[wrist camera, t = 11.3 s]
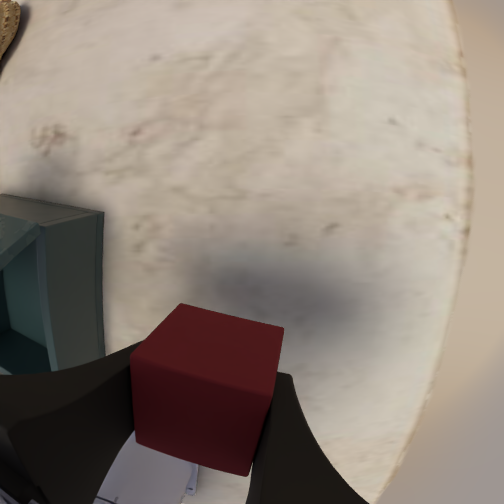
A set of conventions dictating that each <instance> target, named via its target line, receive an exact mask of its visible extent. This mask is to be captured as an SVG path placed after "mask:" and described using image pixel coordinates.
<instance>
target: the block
mask: <svg viewBox="0 0 504 504" xmlns="http://www.w3.org/2000/svg"><path fill="white" fill-rule="evenodd" d="M283 335H284V328H283V327H279V326H275V325H270V324H265V323H261V322H256V321H252V320H248V319H243V318H239V317H235V316H231V315H226V314H222V313H218V312H214V311H210V310H206V309H202V308H198V307H194V306H190V305H187V304H183V303H180V304H179V305H178V306H177V307H176V308H175V309H174V310H173V311H172V312H171V313H170V314H169V315H168V316H167V317H166V318H165V319H164V320H163V321H162V322H161V323H160V324H159V325H158V326H157V328H156V329H155V330H154V331H153V332H152V333H151V334H150V335H149V336H148V337H147V338H146V339H145V340H144V341H143V342H142V343H141V344H140V345H139V346H138V347H137V348H136V349H135V350H134V351H133V352H132V353H131V355H130V373H131V392H132V407H133V419H134V430H135V439H136V443H138V444H140V445H142V446H145V447H148V448H150V449H153V450H156V451H158V452H161V453H164V454H167V455H170V456H172V457H175V458H178V459H182V460H185V461H188V462H191V463H194V464H198V465H201V466H205V467H208V468H212V469H215V470H219V471H223V472H227V473H231V474H235V475H240V476H244V477H247V476H248V475H249V472H250V469H251V466H252V463H253V460H254V457H255V453H256V450H257V447H258V444H259V440H260V437H261V434H262V430H263V427H264V424H265V420H266V417H267V413H268V410H269V407H270V403H271V400H272V396H273V391H274V386H275V380H276V375H277V369H278V364H279V358H280V353H281V347H282V341H283Z"/></svg>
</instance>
